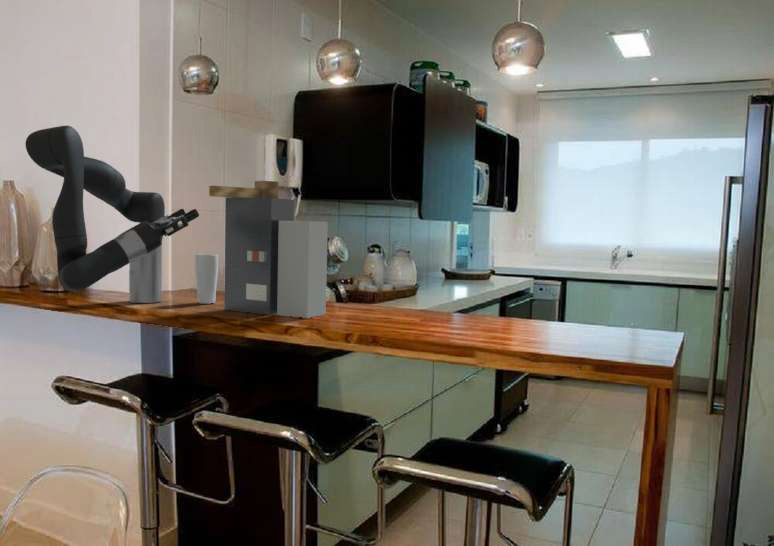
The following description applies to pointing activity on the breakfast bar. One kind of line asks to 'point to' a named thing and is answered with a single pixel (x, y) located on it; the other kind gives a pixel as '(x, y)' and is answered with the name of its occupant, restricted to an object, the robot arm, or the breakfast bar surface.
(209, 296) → the drinking glass
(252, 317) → the breakfast bar surface
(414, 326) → the breakfast bar surface
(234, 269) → the switch cabinet
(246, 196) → the oak bar
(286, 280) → the grey tall block
